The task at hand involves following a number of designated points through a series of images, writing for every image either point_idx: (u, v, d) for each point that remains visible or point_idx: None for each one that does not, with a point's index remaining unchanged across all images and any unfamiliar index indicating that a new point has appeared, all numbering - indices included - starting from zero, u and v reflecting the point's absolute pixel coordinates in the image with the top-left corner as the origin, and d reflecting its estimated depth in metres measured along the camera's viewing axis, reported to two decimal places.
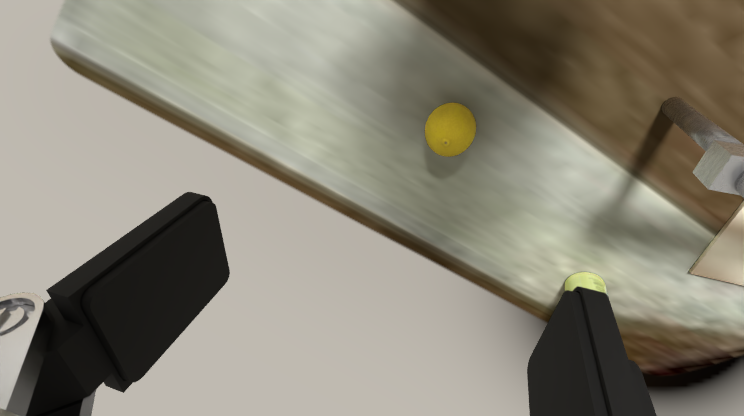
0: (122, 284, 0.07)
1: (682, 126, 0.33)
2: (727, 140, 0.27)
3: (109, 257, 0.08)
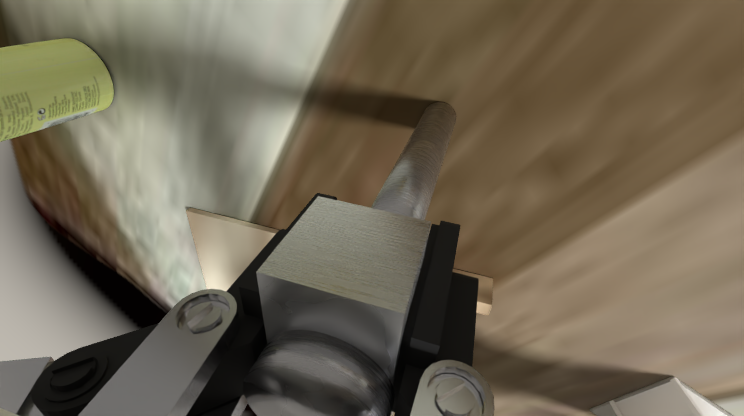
0: None
1: (417, 139, 0.15)
2: None
3: None
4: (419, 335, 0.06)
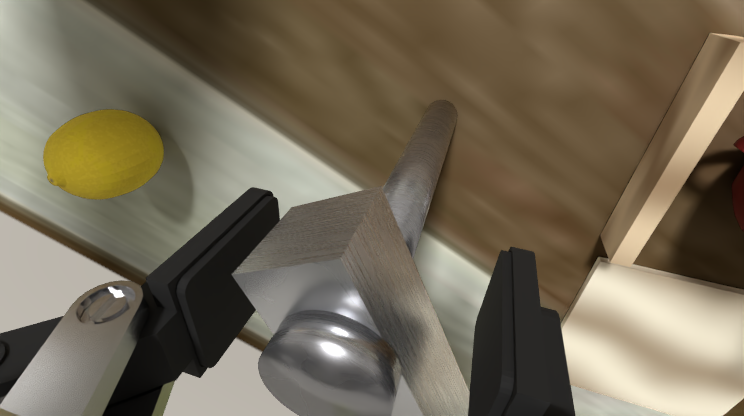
0: (208, 273, 0.08)
1: (411, 139, 0.16)
2: (410, 213, 0.11)
3: (196, 248, 0.08)
4: (525, 389, 0.06)
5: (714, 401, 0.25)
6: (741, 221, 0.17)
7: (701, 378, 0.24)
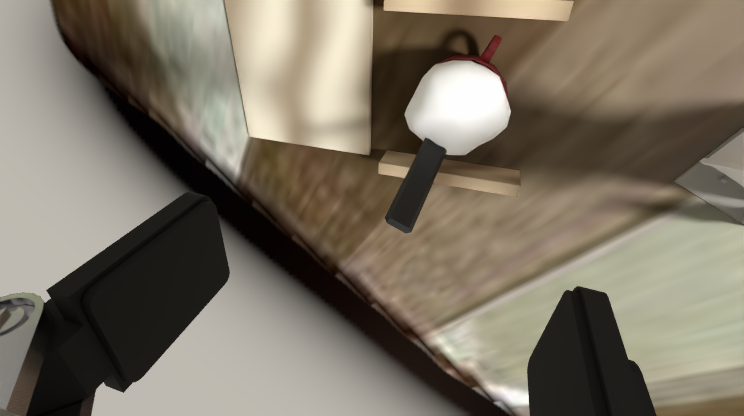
0: (122, 284, 0.07)
1: None
2: None
3: (109, 257, 0.08)
4: None
5: (273, 129, 0.34)
6: (439, 62, 0.24)
7: (289, 113, 0.32)
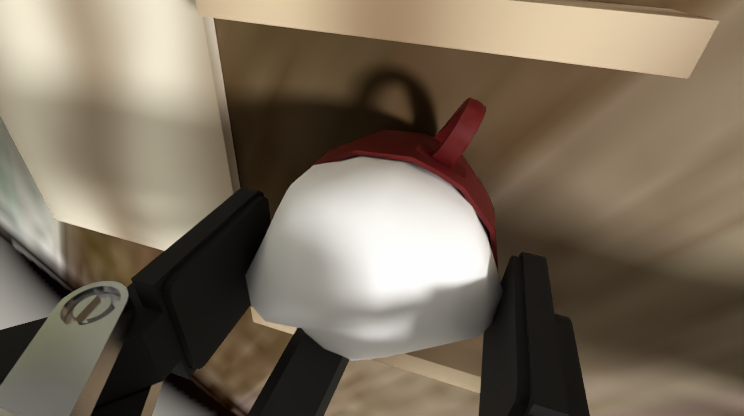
0: (195, 274, 0.08)
1: None
2: None
3: (183, 248, 0.08)
4: (542, 401, 0.06)
5: (86, 213, 0.19)
6: (335, 150, 0.10)
7: (103, 192, 0.18)
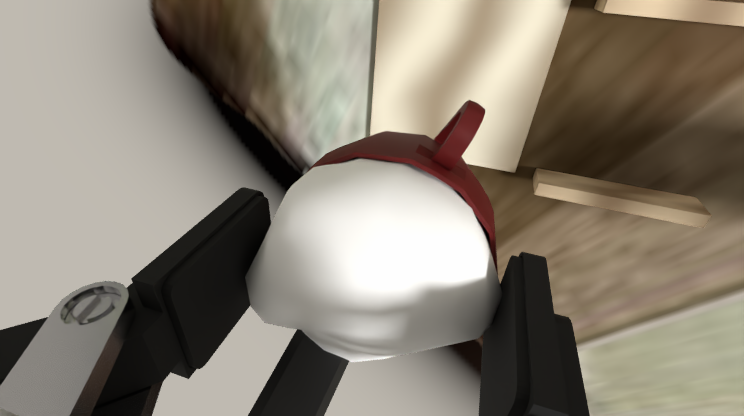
0: (195, 274, 0.08)
1: None
2: None
3: (183, 248, 0.08)
4: (542, 401, 0.06)
5: None
6: (335, 152, 0.10)
7: (427, 122, 0.29)
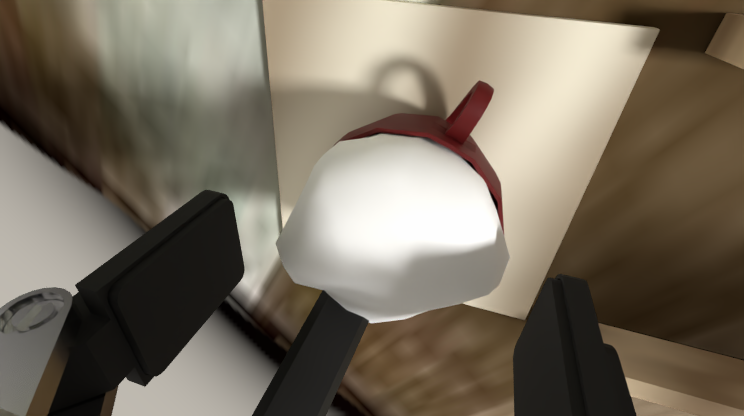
0: (146, 279, 0.08)
1: None
2: None
3: (133, 253, 0.08)
4: None
5: None
6: (357, 130, 0.11)
7: None
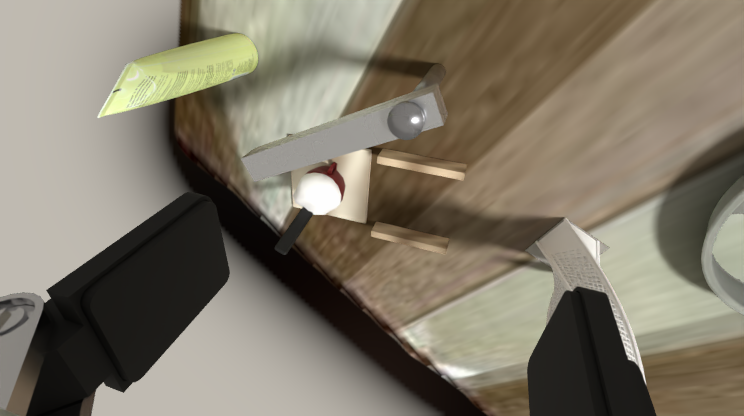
0: (122, 284, 0.07)
1: (436, 78, 0.36)
2: None
3: (109, 257, 0.08)
4: None
5: None
6: (310, 170, 0.49)
7: None
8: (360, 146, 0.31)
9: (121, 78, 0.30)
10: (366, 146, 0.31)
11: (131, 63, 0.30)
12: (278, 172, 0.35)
